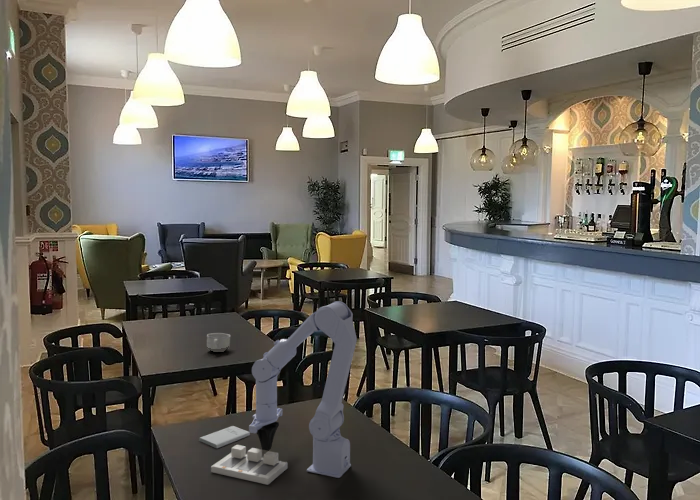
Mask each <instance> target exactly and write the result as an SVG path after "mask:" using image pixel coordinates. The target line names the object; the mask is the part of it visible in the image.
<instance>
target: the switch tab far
mask: <svg viewBox="0 0 700 500" xmlns="http://www.w3.org/2000/svg"><path fill="white" fill-rule="evenodd" d="M230 449H231V452H230V453H231V457H235V458H240V459H241V458H243V457H244V456H245V455H246V454H247V447H246V446H244V445H241V444H236V445H235V444H234V446H232V447H230Z"/></svg>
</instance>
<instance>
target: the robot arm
mask: <svg viewBox="0 0 700 500" xmlns="http://www.w3.org/2000/svg"><path fill="white" fill-rule="evenodd" d="M353 315H354V314H353V312H352V310H351V309H350V307H348V305H347V304H346V303H344V302H343V301H340V300H337V301H336V300H335V301H333V302H332V303H330V304H328V305H324V306H320V307H318V309H316V311H314V312H313V313H311V314H310V315H309V316H308V317H307V318H306V319H305V320H304V321H303V322H302V323H301V324H300V326H298V328H297V329H296V330H295V331H294V332H293V333H292V334H291V335H290V336H289V337H288V338H281V339H280V340H279V339H277V340H275V342H273V345H274V346H273V347H272V348H270V349H269V350H268V351H266V352H264V353H263V358H261V359H258V360H255V361H254V363H253V365H252V367H251V374H252V377H253V378H254V379H255V413H254V414H253V415H252V418H253V420H252V422H251V424H249V425H248V432H250V434H257V437H258V439H259V442H260V447H261V450H262V451H267V452H268V451H271V450H272V446H273V441H274V438H275V435H276V432H277V430H278V429H279V425H280V423H279V422H278V420H279V417H282V416H283V415H284V414H283V411H284V409H283V408H280V407H278V375H280V373H281V370H282V369H283V368H284V367H285V366H286V365H287V364H288V363H289V362H290V361H291V360H292V359H293V358H294V357H295V356H296V355H297V347H299V346H300V345H301V344H302V343H304V341H305V340H307V339H308V338H309V337H310V336H311V335H312V334H313V333H315V332H319V331H321V332H323V334H325V335H326V336H328V337H329V338H330V339H331V340H332V343H334V347H333V352H332V356H331V360H330V364H329V368H328V373H327V377H326V381H325V384H324V390H323V393H322V397H321V398H322V399H321V401H320V402H319V405H318V406H317V408H316V410H315V414H314V416H313V417H312V418H311V419H310V421H309V424H308V430H309V433H310V435H311V436H312V464H311V465H310V466H309V467H308V468H307V469H306V472H309V473H313V474H319V475H321V476H328V477H333V478H337V479H339V478H341V477H342V476H343V475H344V474H345V473H346V472H348V470H349V468H350V467H351V466H352V464H351V442H350V440H349V439H348V438H345V437H343V436H342V435H341V430H340V429H341V427H342V425H343V424H344V422H345V421H344V420H345V416H344V406H345V404H343V403H342V402H343V398H344V394H345V391H346V386H347V381H348V378H349V373H350V369H351V365H352V361H353V357H354V352H355V350H356V346H357V345H356V344H357V335H356V334H357V333H356V329H355V325H354V321H353V319H354V318H353Z"/></svg>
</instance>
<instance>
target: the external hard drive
mask: <svg viewBox="0 0 700 500" xmlns="http://www.w3.org/2000/svg"><path fill="white" fill-rule="evenodd" d="M250 435H251V433H250V432H249V430H245V429H242V428H239V427H237V426H234V425H231V426H228V427H225V428H223V429H220V430H216V431H214V432H212V433H209V434H207V435H203V436H201V437H199V438H198V441H199V442H200V443H203V444H205V445H208V446H210V447H212V448H215V449H219V448H221V447H224V446H227V445H229V444H232V443H234V442H236V441H239V440H243V439H244V438H247V437H250Z"/></svg>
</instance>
